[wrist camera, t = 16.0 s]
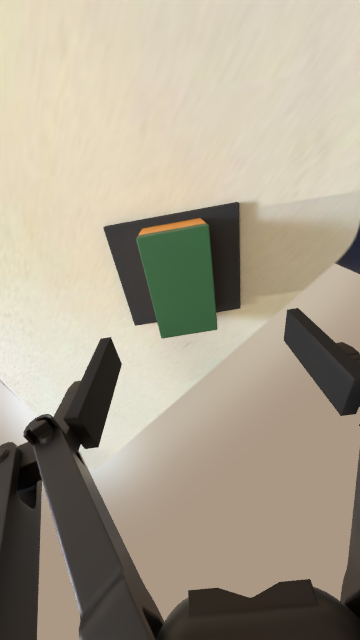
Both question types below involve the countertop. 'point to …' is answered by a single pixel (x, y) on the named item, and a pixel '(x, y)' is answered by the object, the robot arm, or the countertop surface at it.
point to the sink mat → (222, 251)
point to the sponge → (180, 276)
